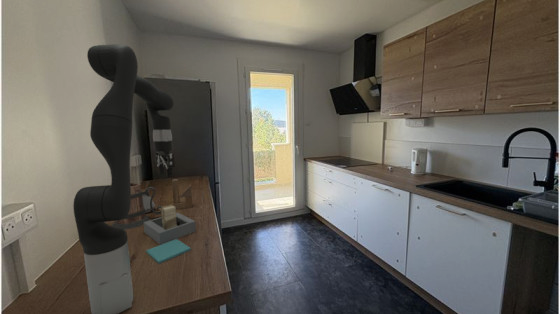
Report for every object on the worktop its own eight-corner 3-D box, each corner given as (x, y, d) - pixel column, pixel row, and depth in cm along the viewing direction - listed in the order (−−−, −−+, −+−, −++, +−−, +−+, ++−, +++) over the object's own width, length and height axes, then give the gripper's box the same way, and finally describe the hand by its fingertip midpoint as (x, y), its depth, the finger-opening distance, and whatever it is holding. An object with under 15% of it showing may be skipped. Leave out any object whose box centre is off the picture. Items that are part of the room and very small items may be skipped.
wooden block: (192, 207, 140) (190, 178, 138) (173, 210, 136) (171, 180, 134) (192, 205, 143) (190, 177, 141) (173, 208, 139) (171, 179, 137)
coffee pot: (154, 213, 131) (151, 188, 129) (131, 216, 127) (128, 190, 125) (159, 202, 151) (158, 180, 149) (140, 204, 147) (137, 182, 145)
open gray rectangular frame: (195, 231, 106) (195, 221, 106) (160, 244, 94) (159, 233, 94) (178, 221, 118) (177, 212, 118) (144, 232, 106) (143, 222, 106)
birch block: (176, 227, 106) (175, 206, 105) (167, 230, 103) (165, 209, 102) (172, 225, 109) (171, 204, 108) (162, 228, 106) (161, 207, 105)
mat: (190, 249, 90) (190, 248, 90) (158, 263, 81) (158, 261, 81) (176, 240, 98) (176, 238, 98) (146, 252, 89) (146, 250, 89)
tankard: (107, 232, 107) (103, 191, 104) (114, 220, 122) (110, 183, 119) (163, 222, 117) (160, 184, 115) (163, 212, 132) (160, 178, 130)
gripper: (147, 140, 103) (150, 175, 105) (160, 140, 94) (163, 179, 96) (164, 139, 109) (167, 172, 110) (178, 139, 99) (181, 176, 101)
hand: (165, 175), depth 103 cm, fingers open, 8 cm apart
